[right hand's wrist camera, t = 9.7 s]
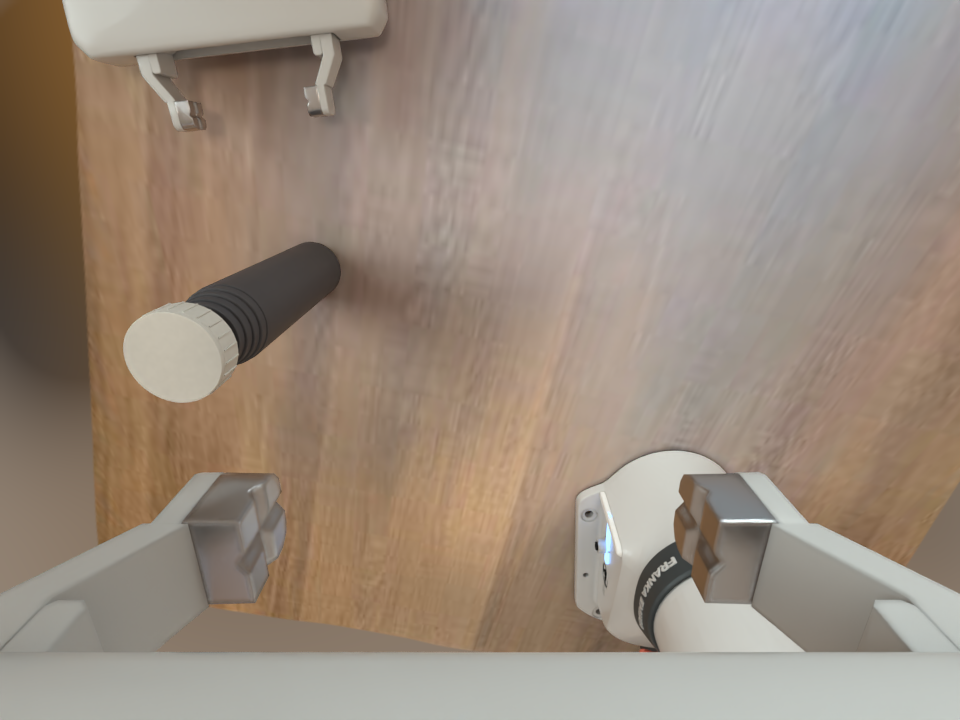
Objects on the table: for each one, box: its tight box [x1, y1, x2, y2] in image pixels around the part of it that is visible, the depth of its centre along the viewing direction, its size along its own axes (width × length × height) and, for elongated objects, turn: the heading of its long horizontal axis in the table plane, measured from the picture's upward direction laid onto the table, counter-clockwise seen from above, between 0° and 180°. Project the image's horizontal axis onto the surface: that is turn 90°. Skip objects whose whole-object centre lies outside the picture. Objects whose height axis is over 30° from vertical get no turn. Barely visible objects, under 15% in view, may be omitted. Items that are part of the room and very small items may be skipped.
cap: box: [123, 301, 239, 403], centre depth 26 cm, size 5×5×2 cm
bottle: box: [186, 242, 341, 365], centre depth 35 cm, size 5×5×22 cm
